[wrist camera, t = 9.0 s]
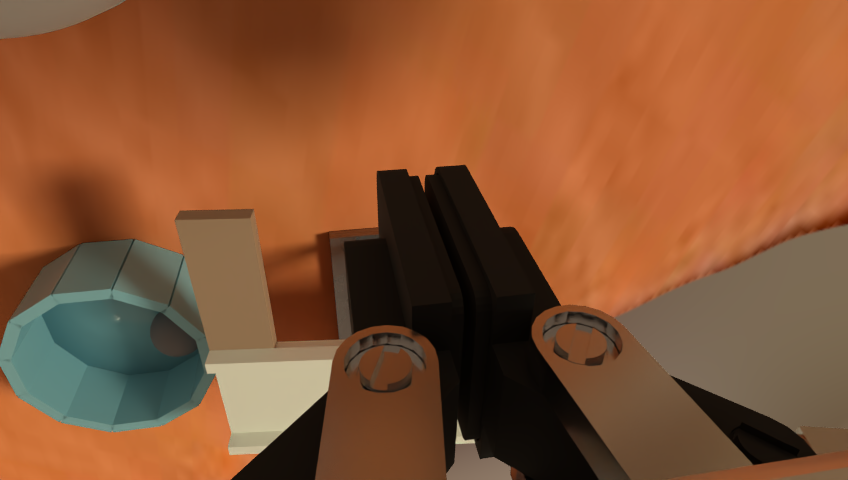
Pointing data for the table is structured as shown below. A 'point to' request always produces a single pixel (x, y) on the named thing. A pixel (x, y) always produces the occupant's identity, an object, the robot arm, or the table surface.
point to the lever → (249, 331)
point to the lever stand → (344, 273)
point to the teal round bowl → (106, 338)
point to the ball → (170, 337)
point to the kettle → (47, 15)
